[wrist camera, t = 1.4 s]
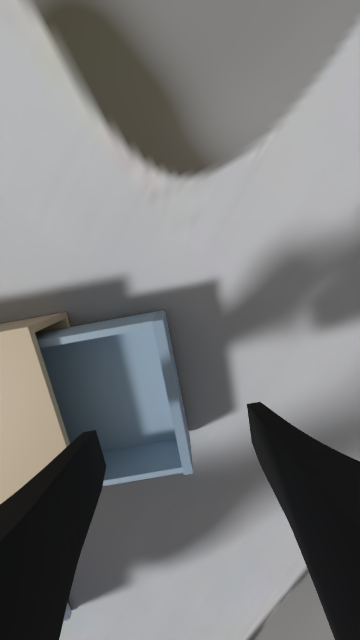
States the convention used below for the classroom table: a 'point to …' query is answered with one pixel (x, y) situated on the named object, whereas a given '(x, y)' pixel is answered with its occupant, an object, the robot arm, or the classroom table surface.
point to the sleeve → (27, 404)
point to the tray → (121, 393)
